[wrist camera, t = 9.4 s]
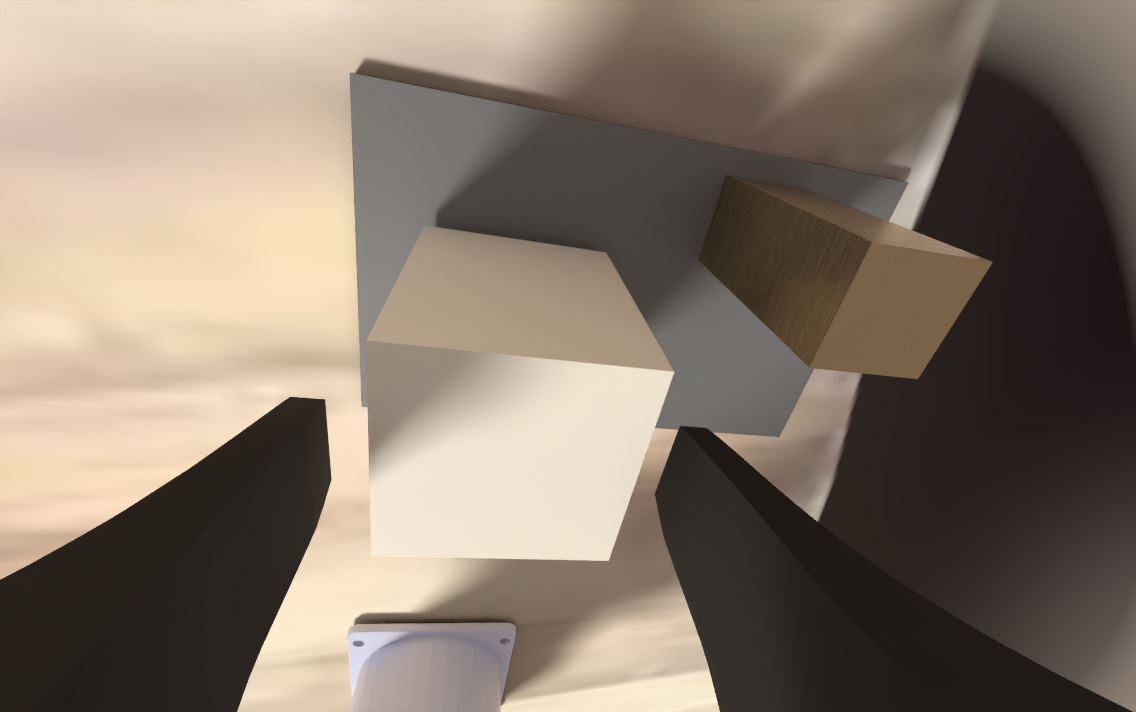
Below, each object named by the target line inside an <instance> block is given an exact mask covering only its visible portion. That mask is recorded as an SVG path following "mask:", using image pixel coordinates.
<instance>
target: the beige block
mask: <svg viewBox="0 0 1136 712" xmlns="http://www.w3.org/2000/svg"><path fill="white" fill-rule="evenodd" d="M366 346H367V391H368V437H369V482H370V528H371V556H391V557H441V558H492V559H542V560H593V561H609V558H610V555H611V553H612V550H613V547H614V544H615V541H616V538H617V535H618V532H619V530H620V527H621V524H622V521H623V518H624V515H625V512H626V509H627V507H628V504H629V501H630V498H631V495H632V492H633V489H634V486H635V484H636V481H637V478H638V475H639V472H640V469H641V466H642V463H643V461H644V458H645V455H646V452H647V449H648V446H649V443H650V440H651V438H652V435H653V432H654V429H655V426H656V423H657V420H658V417H659V415H660V412H661V409H662V406H663V403H664V400H665V397H666V394H667V392H668V389H669V386H670V383H671V380H672V377H673V374H674V370H673V369H672V367H671V365H670V363H669V362H668V360H667V358H666V356H665V355H664V353H663V351H662V349H661V348H660V346H659V344H658V342H657V340H656V339H655V337H654V335H653V333H652V332H651V330H650V328H649V326H648V325H647V323H646V321H645V319H644V318H643V316H642V314H641V312H640V311H639V309H638V307H637V305H636V304H635V302H634V300H633V298H632V297H631V295H630V293H629V291H628V290H627V288H626V286H625V284H624V283H623V281H622V279H621V277H620V276H619V274H618V272H617V270H616V269H615V267H614V265H613V263H612V262H611V260H610V258H609V256H608V255H607V253H606V252H600V251H593V250H587V249H580V248H573V247H567V246H560V245H553V244H546V243H540V242H533V241H526V240H520V239H513V238H506V237H500V236H493V235H486V234H479V233H473V232H466V231H459V230H453V229H446V228H439V227H432V226H426V225H425V226H424V228H423V230H422V232H421V234H420V236H419V238H418V240H417V242H416V244H415V246H414V248H413V250H412V252H411V254H410V256H409V257H408V259H407V261H406V263H405V265H404V267H403V269H402V271H401V273H400V275H399V277H398V279H397V281H396V283H395V285H394V287H393V289H392V291H391V293H390V295H389V297H388V299H387V301H386V303H385V305H384V307H383V309H382V311H381V313H380V315H379V317H378V319H377V321H376V322H375V324H374V326H373V328H372V330H371V332H370V334H369V336H368V338H367V340H366Z"/></svg>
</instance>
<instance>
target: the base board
mask: <svg viewBox="0 0 1136 712" xmlns="http://www.w3.org/2000/svg"><path fill="white" fill-rule="evenodd" d="M350 95H351V123H352V150H353V177H354V205H355V232H356V260H357V287H358V314H359V342H360V369H361V396H362V407H368V391H367V346H366V340H367V338H368V336H369V334H370V332H371V330H372V328H373V326H374V324H375V322H376V321H377V319H378V317H379V315H380V313H381V311H382V309H383V307H384V305H385V303H386V301H387V299H388V297H389V295H390V293H391V291H392V289H393V287H394V285H395V283H396V281H397V279H398V277H399V275H400V273H401V271H402V269H403V267H404V265H405V263H406V261H407V259H408V257H409V256H410V254H411V252H412V250H413V248H414V246H415V244H416V242H417V240H418V238H419V236H420V234H421V232H422V230H423V228H424V226H425V225H426V226H432V227H439V228H446V229H453V230H459V231H466V232H473V233H479V234H486V235H493V236H500V237H506V238H513V239H520V240H526V241H533V242H540V243H546V244H553V245H560V246H567V247H573V248H580V249H587V250H593V251H600V252H606V253H607V255H608V256H609V258H610V260H611V262H612V263H613V265H614V267H615V269H616V270H617V272H618V274H619V276H620V277H621V279H622V281H623V283H624V284H625V286H626V288H627V290H628V291H629V293H630V295H631V297H632V298H633V300H634V302H635V304H636V305H637V307H638V309H639V311H640V312H641V314H642V316H643V318H644V319H645V321H646V323H647V325H648V326H649V328H650V330H651V332H652V333H653V335H654V337H655V339H656V340H657V342H658V344H659V346H660V348H661V349H662V351H663V353H664V355H665V356H666V358H667V360H668V362H669V363H670V365H671V367H672V369H673V370H674V374H673V377H672V380H671V383H670V386H669V389H668V392H667V394H666V397H665V400H664V403H663V406H662V409H661V412H660V415H659V417H658V420H657V423H656V426H655V428H663V429H677V430H679V427H680V426H690V427H703V428H707V429H708V430H710V431H711V432H718V433H732V434H746V435H760V436H774V437H779V436H780V434H781V432H782V430H783V428H784V427H785V425H786V423H787V421H788V419H789V417H790V415H791V413H792V411H793V409H794V407H795V405H796V403H797V401H798V399H799V397H800V395H801V393H802V391H803V389H804V387H805V385H806V383H807V381H808V379H809V377H810V375H811V373H812V371H813V369H814V368H809V367H808V366H807V365H806V364H805V363H804V362H803V361H802V360H801V359H800V358H799V357H798V356H797V355H796V354H795V353H794V352H793V351H792V350H791V349H790V348H789V347H787V346H786V345H785V344H784V343H783V342H782V341H781V340H780V339H779V338H778V337H777V336H776V335H775V334H774V333H773V332H772V331H771V330H770V329H769V328H768V327H767V326H766V325H765V324H764V323H763V322H762V321H761V320H760V319H759V318H758V317H756V316H755V315H754V314H753V313H752V312H751V311H750V310H749V309H748V308H747V307H746V306H745V305H744V304H743V303H742V302H741V301H740V300H739V299H738V298H737V297H736V296H735V295H734V294H733V293H732V292H731V291H730V290H729V289H728V288H726V287H725V286H724V285H723V284H722V283H721V282H720V281H719V280H718V279H717V278H716V277H715V276H714V275H713V274H712V273H711V272H710V271H709V270H708V269H707V268H706V267H705V266H704V265H703V264H702V263H701V262H700V261H699V257H700V254H701V251H702V248H703V245H704V242H705V239H706V236H707V233H708V230H709V226H710V223H711V220H712V217H713V214H714V211H715V208H716V205H717V202H718V199H719V196H720V193H721V190H722V187H723V184H724V181H725V177H726V175H732V176H737V177H743V178H748V179H753V180H759V181H764V182H770V183H775V184H780V185H786V186H791V187H797V188H802V189H807V190H809V191H812V192H814V193H817V194H819V195H822V196H825V197H827V198H830V199H832V200H835V201H837V202H840V203H843V204H845V205H848V206H850V207H853V208H855V209H858V210H861V211H863V212H866V213H868V214H871V215H873V216H876V217H879V218H881V219H884V220H886V221H889V220H890V218H891V216H892V214H893V212H894V210H895V208H896V206H897V204H898V202H899V200H900V198H901V196H902V194H903V192H904V190H905V188H906V186H907V184H908V183H907V182H903V181H900V180H895V179H890V178H885V177H880V176H875V175H870V174H865V173H860V172H855V171H849V170H844V169H839V168H834V167H829V166H824V165H819V164H814V163H809V162H804V161H799V160H794V159H789V158H784V157H778V156H773V155H768V154H763V153H758V152H753V151H748V150H743V149H738V148H733V147H728V146H723V145H718V144H713V143H707V142H702V141H697V140H692V139H687V138H682V137H677V136H672V135H667V134H662V133H657V132H652V131H647V130H642V129H636V128H631V127H626V126H621V125H616V124H611V123H606V122H601V121H596V120H591V119H586V118H581V117H576V116H571V115H565V114H560V113H555V112H550V111H545V110H540V109H535V108H530V107H525V106H520V105H515V104H510V103H505V102H500V101H494V100H489V99H484V98H479V97H474V96H469V95H464V94H459V93H454V92H449V91H444V90H439V89H434V88H429V87H424V86H418V85H413V84H408V83H403V82H398V81H393V80H388V79H383V78H378V77H373V76H368V75H363V74H358V73H350Z"/></svg>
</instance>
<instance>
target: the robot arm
mask: <svg viewBox="0 0 1136 712" xmlns="http://www.w3.org/2000/svg"><path fill="white" fill-rule="evenodd" d="M330 482H331V468H330V456H329V443H328V431H327V418H326V406H325V399H311V398H298V397H289V398H288V399H286V400H285V401H284V402H282V403H281V404H279V405H278V406H276V407H275V408H274V409H272V410H271V411H270V412H268V413H267V414H265V415H264V416H263V417H261V418H260V419H258V420H257V421H256V422H254V423H253V424H252V425H250V426H249V427H247V428H246V429H245V430H243V431H242V432H241V433H239V434H238V435H236V436H235V437H234V438H232V439H231V440H230V441H228V442H227V443H225V444H224V445H222V446H221V447H220V448H218V449H217V450H215V451H214V452H212V453H211V454H210V455H208V456H207V457H205V458H204V459H202V460H201V461H200V462H198V463H197V464H195V465H194V466H192V467H191V468H190V469H188V470H186V471H185V472H183V473H182V474H180V475H179V476H177V477H176V478H174V479H173V480H171V481H169V482H168V483H166V484H165V485H163V486H162V487H160V488H159V489H157V490H155V491H154V492H152V493H151V494H149V495H148V496H146V497H145V498H143V499H141V500H140V501H138V502H137V503H135V504H134V505H132V506H131V507H129V508H127V509H126V510H124V511H123V512H121V513H119V514H118V515H116V516H114V517H113V518H111V519H109V520H108V521H106V522H104V523H103V524H101V525H99V526H97V527H96V528H94V529H92V530H91V531H89V532H87V533H85V534H84V535H82V536H80V537H78V538H77V539H75V540H73V541H71V542H69V543H68V544H66V545H64V546H62V547H60V548H59V549H57V550H55V551H53V552H51V553H50V554H48V555H46V556H44V557H42V558H41V559H39V560H37V561H35V562H33V563H31V564H30V565H28V566H26V567H24V568H22V569H20V570H18V571H16V572H15V573H13V574H11V575H9V576H7V577H5V578H3V579H1V580H0V712H237V710H238V707H239V705H240V702H241V699H242V696H243V693H244V690H245V688H246V685H247V682H248V679H249V677H250V674H251V672H252V669H253V667H254V665H255V662H256V660H257V657H258V655H259V653H260V650H261V648H262V646H263V643H264V641H265V639H266V637H267V635H268V633H269V630H270V628H271V626H272V624H273V622H274V620H275V617H276V615H277V613H278V611H279V609H280V607H281V604H282V602H283V600H284V598H285V596H286V593H287V591H288V589H289V587H290V585H291V583H292V580H293V578H294V576H295V574H296V572H297V570H298V567H299V565H300V563H301V561H302V559H303V556H304V554H305V552H306V550H307V548H308V545H309V543H310V541H311V539H312V536H313V534H314V532H315V530H316V527H317V524H318V521H319V518H320V515H321V512H322V509H323V505H324V502H325V499H326V496H327V492H328V489H329V486H330ZM655 497H656V502H657V507H658V512H659V517H660V522H661V526H662V530H663V535H664V539H665V542H666V545H667V548H668V550H669V553H670V556H671V559H672V562H673V565H674V568H675V571H676V573H677V576H678V579H679V582H680V585H681V587H682V590H683V593H684V596H685V599H686V601H687V604H688V607H689V610H690V613H691V615H692V618H693V621H694V624H695V626H696V629H697V632H698V635H699V638H700V640H701V644H702V647H703V650H704V653H705V656H706V659H707V663H708V666H709V670H710V674H711V678H712V682H713V685H714V689H715V693H716V697H717V701H718V705H719V709H720V712H1132V711H1130V710H1128V709H1126V708H1124V707H1122V706H1120V705H1118V704H1116V703H1114V702H1112V701H1110V700H1108V699H1106V698H1104V697H1102V696H1100V695H1098V694H1096V693H1094V692H1092V691H1090V690H1088V689H1086V688H1084V687H1082V686H1080V685H1078V684H1076V683H1074V682H1072V681H1070V680H1068V679H1066V678H1064V677H1062V676H1060V675H1058V674H1056V673H1054V672H1052V671H1050V670H1048V669H1047V668H1045V667H1043V666H1041V665H1039V664H1038V663H1036V662H1034V661H1032V660H1030V659H1029V658H1027V657H1025V656H1023V655H1021V654H1019V653H1018V652H1016V651H1014V650H1012V649H1010V648H1008V647H1007V646H1005V645H1003V644H1001V643H999V642H998V641H996V640H994V639H992V638H991V637H989V636H987V635H985V634H983V633H982V632H980V631H979V630H977V629H975V628H973V627H971V626H970V625H968V624H966V623H965V622H963V621H961V620H960V619H958V618H957V617H955V616H953V615H951V614H950V613H948V612H947V611H945V610H944V609H942V608H940V607H939V606H937V605H936V604H934V603H932V602H931V601H929V600H927V599H926V598H924V597H923V596H921V595H919V594H918V593H916V592H915V591H913V590H912V589H910V588H909V587H907V586H906V585H904V584H902V583H901V582H899V581H898V580H896V579H895V578H893V577H892V576H891V575H889V574H888V573H886V572H885V571H883V570H882V569H881V568H879V567H877V566H876V565H875V564H873V563H872V562H871V561H869V560H868V559H866V558H865V557H863V556H862V555H861V554H859V553H858V552H856V551H855V550H854V549H852V548H851V547H849V546H848V545H847V544H845V543H844V542H843V541H841V540H840V539H838V538H837V537H836V536H835V535H834V534H832V533H831V532H830V531H828V530H827V529H826V528H825V527H823V526H822V525H821V524H820V523H818V522H817V521H816V520H815V519H813V518H812V517H811V516H810V515H808V514H807V513H806V512H805V511H803V510H802V509H801V508H800V507H799V506H797V505H796V504H795V503H794V502H792V501H791V500H790V499H789V498H788V497H787V496H785V495H784V494H783V493H782V492H781V491H780V490H778V489H777V488H776V487H775V486H774V485H773V484H771V483H770V482H769V481H768V480H767V479H766V478H764V477H763V476H762V475H761V474H760V473H759V472H758V471H756V470H755V469H754V468H753V467H752V466H751V465H750V464H749V463H747V462H746V461H745V460H744V459H743V458H742V457H741V456H739V455H738V454H737V453H736V452H735V451H734V450H733V449H731V448H730V447H729V446H728V445H727V444H726V443H724V442H723V441H722V440H721V439H720V438H719V437H717V436H716V435H715V434H714V433H712V432H711V431H710V430H708V429H707V428H703V427H690V426H680V427H679V430H678V433H677V435H676V438H675V441H674V443H673V446H672V449H671V452H670V454H669V457H668V460H667V462H666V465H665V468H664V471H663V473H662V476H661V479H660V481H659V484H658V487H657V489H656V492H655ZM515 637H516V626H515V625H514V624H512V623H409V624H356V625H353V626H351V627H350V628H349V632H348V635H347V643H348V656H349V668H350V681H351V694H352V702H351V706H350V710H349V712H500V705H501V700H502V696H503V691H504V687H505V682H506V678H507V673H508V669H509V664H510V660H511V655H512V650H513V646H514V641H515Z"/></svg>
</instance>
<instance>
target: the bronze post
mask: <svg viewBox="0 0 1136 712" xmlns="http://www.w3.org/2000/svg"><path fill="white" fill-rule="evenodd" d="M699 261H700V262H701V263H702V264H703V265H704V266H705V267H706V268H707V269H708V270H709V271H710V272H711V273H712V274H713V275H714V276H715V277H716V278H717V279H718V280H719V281H720V282H721V283H722V284H723V285H724V286H725V287H726V288H728V289H729V290H730V291H731V292H732V293H733V294H734V295H735V296H736V297H737V298H738V299H739V300H740V301H741V302H742V303H743V304H744V305H745V306H746V307H747V308H748V309H749V310H750V311H751V312H752V313H753V314H754V315H755V316H756V317H758V318H759V319H760V320H761V321H762V322H763V323H764V324H765V325H766V326H767V327H768V328H769V329H770V330H771V331H772V332H773V333H774V334H775V335H776V336H777V337H778V338H779V339H780V340H781V341H782V342H783V343H784V344H785V345H786V346H787V347H789V348H790V349H791V350H792V351H793V352H794V353H795V354H796V355H797V356H798V357H799V358H800V359H801V360H802V361H803V362H804V363H805V364H806V365H807V366H808V367H809V368H817V369H827V370H836V371H846V372H855V373H865V374H874V375H884V376H893V377H904V378H913V379H918V378H919V376H920V375H921V373H922V372H923V370H924V369H925V367H926V366H927V364H928V362H929V361H930V359H931V358H932V356H933V355H934V353H935V351H936V350H937V348H938V346H939V345H940V344H941V342H942V340H943V339H944V337H945V336H946V334H947V333H948V331H949V330H950V328H951V326H952V325H953V323H954V322H955V320H956V319H957V317H958V315H959V314H960V312H961V311H962V309H963V308H964V306H965V305H966V303H967V301H968V300H969V298H970V297H971V295H972V293H973V292H974V290H975V289H976V287H977V286H978V284H979V283H980V281H981V280H982V278H983V276H984V275H985V273H986V272H987V270H988V269H989V267H990V265H991V264H992V262H991V261H989V260H986V259H984V258H981V257H978V256H976V255H974V254H971V253H968V252H966V251H963V250H961V249H958V248H955V247H953V246H950V245H948V244H945V243H943V242H940V241H938V240H935V239H932V238H930V237H927V236H925V235H922V234H920V233H917V232H914V231H912V230H909V229H907V228H904V227H902V226H899V225H897V224H894V223H891V222H889V221H886V220H884V219H881V218H879V217H876V216H873V215H871V214H868V213H866V212H863V211H861V210H858V209H855V208H853V207H850V206H848V205H845V204H843V203H840V202H837V201H835V200H832V199H830V198H827V197H825V196H822V195H819V194H817V193H814V192H812V191H809V190H807V189H802V188H797V187H791V186H786V185H780V184H775V183H770V182H764V181H759V180H753V179H748V178H743V177H737V176H732V175H726V177H725V181H724V184H723V187H722V190H721V193H720V196H719V199H718V202H717V205H716V208H715V211H714V214H713V217H712V220H711V223H710V226H709V230H708V233H707V236H706V239H705V242H704V245H703V248H702V251H701V254H700V257H699Z"/></svg>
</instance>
